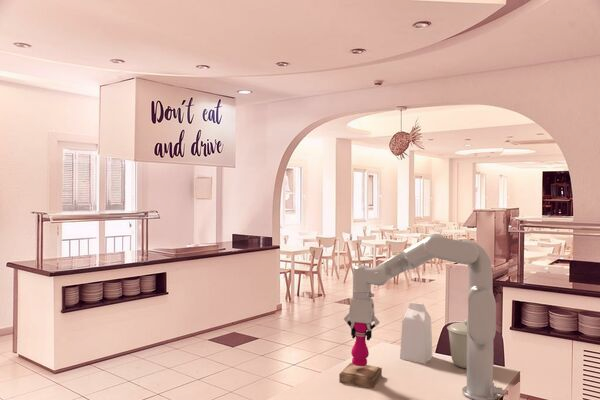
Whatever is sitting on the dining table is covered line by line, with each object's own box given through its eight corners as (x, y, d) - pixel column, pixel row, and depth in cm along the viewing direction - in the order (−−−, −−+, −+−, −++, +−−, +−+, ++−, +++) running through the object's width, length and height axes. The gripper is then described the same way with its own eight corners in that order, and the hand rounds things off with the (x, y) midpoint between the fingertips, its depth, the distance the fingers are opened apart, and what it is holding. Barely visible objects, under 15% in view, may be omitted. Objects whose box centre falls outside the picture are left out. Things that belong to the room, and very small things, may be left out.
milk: (432, 356, 223) (433, 302, 223) (425, 363, 214) (425, 307, 213) (408, 352, 230) (408, 299, 230) (399, 358, 220) (400, 303, 220)
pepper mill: (367, 367, 191) (370, 319, 190) (349, 365, 192) (352, 317, 192) (368, 361, 198) (371, 314, 197) (351, 359, 199) (354, 313, 199)
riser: (381, 376, 198) (381, 366, 198) (372, 388, 185) (372, 378, 185) (350, 370, 204) (350, 361, 204) (339, 382, 191) (339, 372, 191)
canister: (484, 375, 200) (485, 326, 200) (442, 367, 209) (442, 320, 209) (492, 363, 215) (492, 317, 215) (452, 355, 225) (452, 312, 224)
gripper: (384, 295, 194) (383, 338, 194) (345, 291, 201) (344, 333, 202) (379, 299, 187) (379, 344, 188) (339, 295, 195) (338, 338, 195)
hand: (361, 338), depth 195 cm, fingers closed on pepper mill, 5 cm apart
